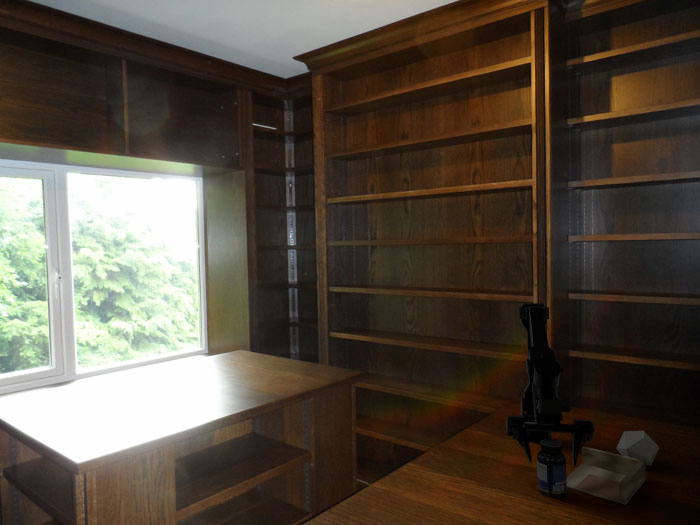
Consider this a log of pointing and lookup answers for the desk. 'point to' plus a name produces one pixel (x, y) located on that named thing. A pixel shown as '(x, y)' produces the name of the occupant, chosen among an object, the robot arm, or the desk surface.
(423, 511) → the desk surface
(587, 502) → the desk surface
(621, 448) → the grey polyhedron
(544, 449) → the pill bottle
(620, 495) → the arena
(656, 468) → the desk surface
